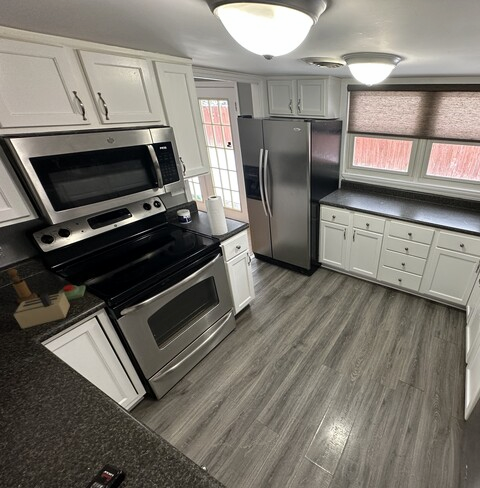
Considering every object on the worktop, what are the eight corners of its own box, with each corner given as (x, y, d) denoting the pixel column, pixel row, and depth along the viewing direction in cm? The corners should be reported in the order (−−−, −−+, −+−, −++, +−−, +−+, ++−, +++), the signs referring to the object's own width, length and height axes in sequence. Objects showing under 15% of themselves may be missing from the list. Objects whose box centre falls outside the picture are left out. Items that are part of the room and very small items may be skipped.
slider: (44, 307, 113) (39, 298, 111) (46, 303, 115) (41, 294, 113) (49, 306, 114) (45, 296, 112) (51, 302, 116) (47, 293, 114)
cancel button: (63, 292, 130) (62, 289, 129) (65, 289, 133) (63, 286, 132) (73, 290, 132) (71, 287, 131) (74, 287, 134) (73, 284, 134)
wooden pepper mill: (20, 306, 125) (1, 274, 117) (17, 301, 128) (-2, 270, 120) (39, 299, 130) (23, 268, 122) (35, 295, 133) (19, 264, 125)
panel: (56, 303, 128) (53, 297, 126) (60, 294, 135) (57, 287, 133) (83, 297, 133) (80, 291, 131) (86, 288, 139) (83, 282, 138)
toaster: (22, 329, 112) (13, 314, 109) (29, 315, 120) (21, 301, 116) (65, 318, 119) (58, 304, 115) (70, 306, 126) (63, 292, 123)
